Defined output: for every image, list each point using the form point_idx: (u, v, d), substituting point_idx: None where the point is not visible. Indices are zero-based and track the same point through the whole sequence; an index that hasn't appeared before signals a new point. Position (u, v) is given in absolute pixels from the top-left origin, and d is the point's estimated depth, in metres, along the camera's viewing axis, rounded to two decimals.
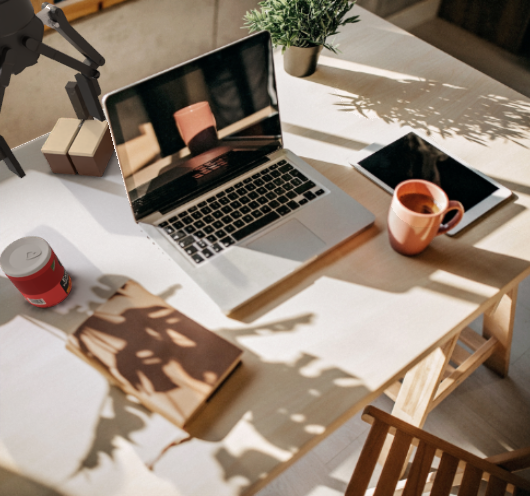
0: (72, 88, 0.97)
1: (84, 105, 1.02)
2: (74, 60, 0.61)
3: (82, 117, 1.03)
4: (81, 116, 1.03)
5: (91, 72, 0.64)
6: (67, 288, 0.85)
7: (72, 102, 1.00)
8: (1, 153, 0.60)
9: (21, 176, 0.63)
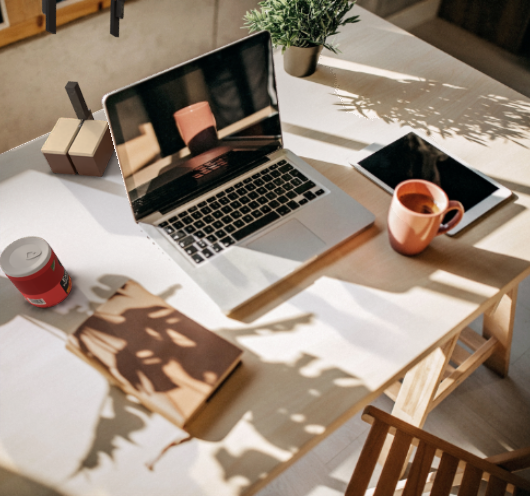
0: (72, 88, 0.97)
1: (84, 105, 1.02)
2: None
3: (82, 117, 1.03)
4: (81, 116, 1.03)
5: None
6: (67, 288, 0.85)
7: (72, 102, 1.00)
8: (46, 9, 1.00)
9: (46, 29, 1.00)
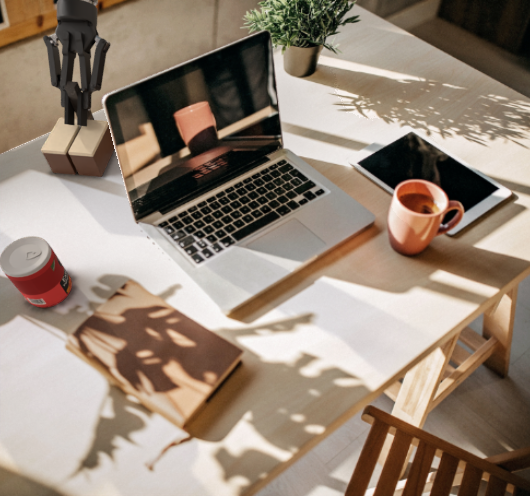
0: (72, 88, 0.97)
1: None
2: (84, 71, 0.98)
3: None
4: None
5: (83, 87, 0.98)
6: (67, 288, 0.85)
7: (72, 102, 1.00)
8: (64, 102, 1.00)
9: (65, 122, 1.00)
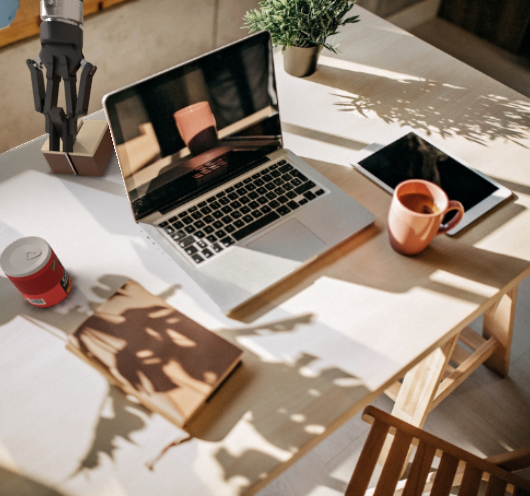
0: (56, 114, 0.93)
1: None
2: (70, 96, 0.93)
3: None
4: None
5: (69, 112, 0.94)
6: (67, 288, 0.85)
7: (57, 128, 0.96)
8: None
9: (49, 149, 0.95)
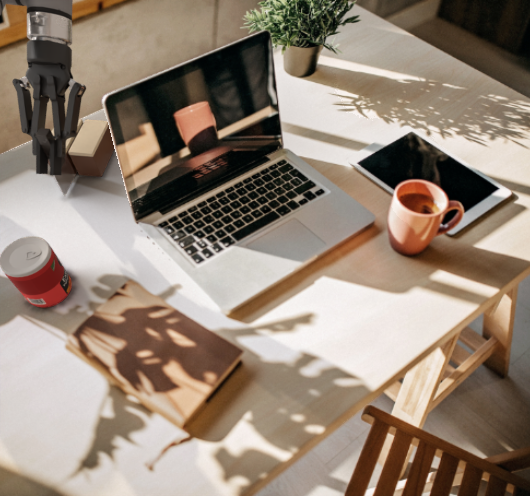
0: (43, 136, 0.89)
1: None
2: (57, 117, 0.90)
3: None
4: None
5: (57, 134, 0.90)
6: (67, 288, 0.85)
7: (44, 150, 0.92)
8: None
9: (36, 172, 0.92)
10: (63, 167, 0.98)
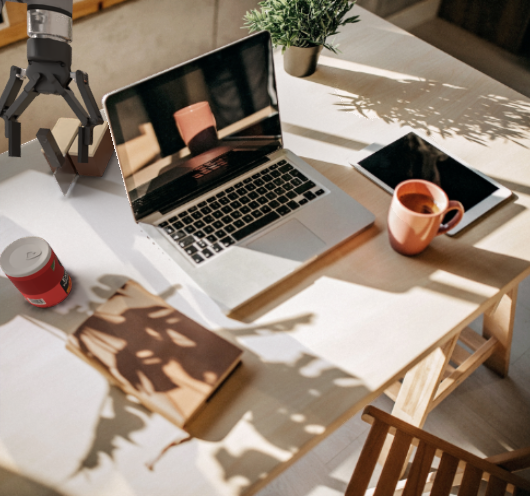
0: (43, 136, 0.89)
1: (58, 152, 0.94)
2: (76, 106, 0.89)
3: (56, 165, 0.95)
4: (55, 164, 0.95)
5: (84, 122, 0.89)
6: (67, 288, 0.85)
7: (44, 150, 0.92)
8: None
9: (9, 155, 0.92)
10: (63, 167, 0.98)
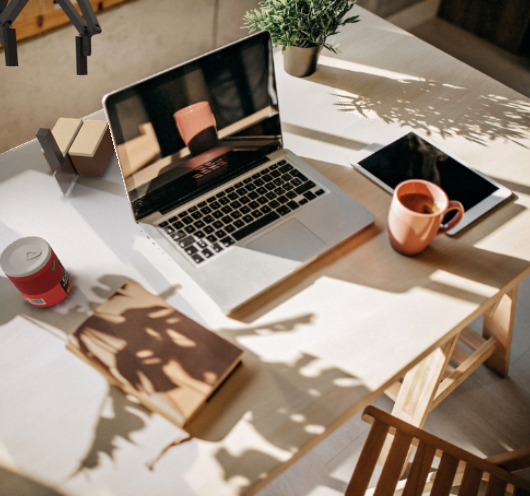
0: (43, 136, 0.89)
1: (58, 152, 0.94)
2: (72, 13, 0.85)
3: (56, 165, 0.95)
4: (55, 164, 0.95)
5: (81, 31, 0.86)
6: (67, 288, 0.85)
7: (44, 150, 0.92)
8: None
9: (6, 64, 0.90)
10: (63, 167, 0.98)
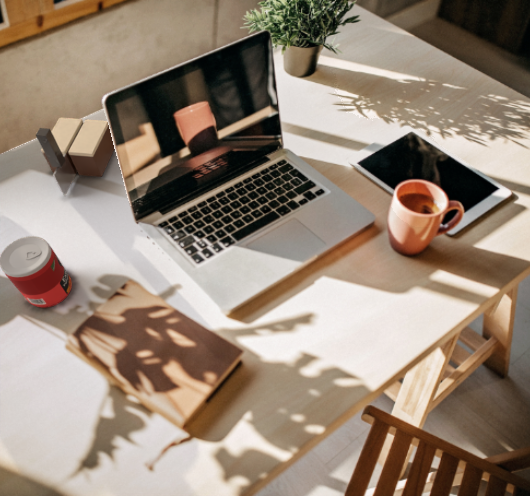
0: (43, 136, 0.89)
1: (58, 152, 0.94)
2: None
3: (56, 165, 0.95)
4: (55, 164, 0.95)
5: None
6: (67, 288, 0.85)
7: (44, 150, 0.92)
8: None
9: None
10: (63, 167, 0.98)
